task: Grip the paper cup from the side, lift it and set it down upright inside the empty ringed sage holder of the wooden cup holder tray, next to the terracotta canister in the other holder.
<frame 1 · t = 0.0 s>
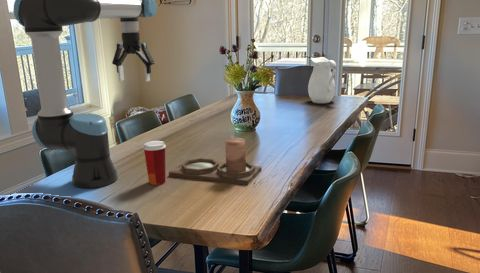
hand: (134, 80, 199), 28 cm above the table, tool pointing down, fingers open, 13 cm apart
wooden cup holder tray: (215, 173, 162), on the table
pitcher: (323, 103, 282), on the table
paper cup: (157, 182, 155), on the table
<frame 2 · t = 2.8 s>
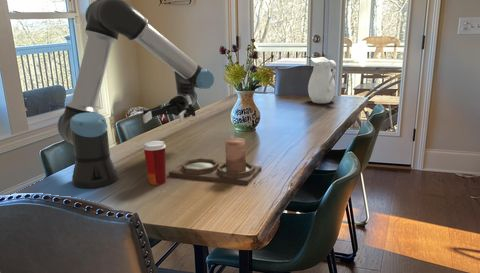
hand: (161, 119, 160), 20 cm above the table, tool horizontal, fingers open, 13 cm apart
nothing on the table moved.
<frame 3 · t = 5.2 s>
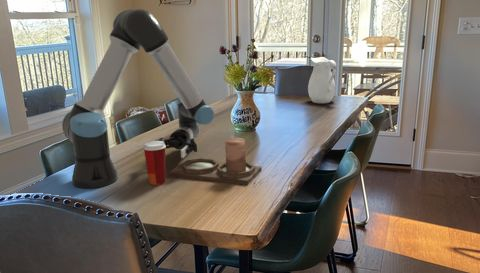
hand: (163, 153, 158), 8 cm above the table, tool horizontal, fingers open, 13 cm apart
nothing on the table moved.
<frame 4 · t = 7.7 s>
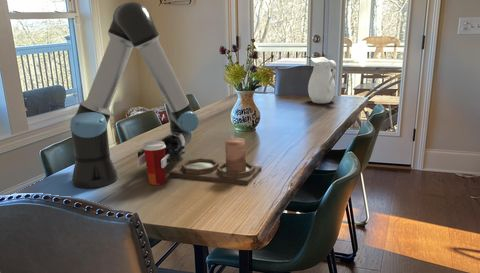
hand: (150, 163, 148), 8 cm above the table, tool horizontal, fingers closed on paper cup, 8 cm apart
paper cup: (157, 182, 155), on the table, touching gripper
everything else where it was.
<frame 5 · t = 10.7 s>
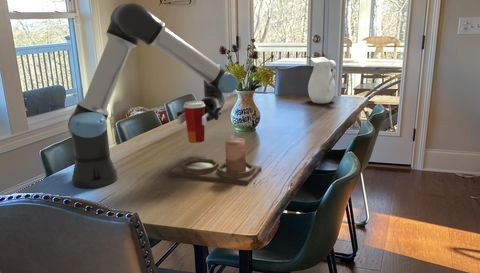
hand: (191, 121, 153), 20 cm above the table, tool horizontal, fingers closed on paper cup, 8 cm apart
paper cup: (196, 141, 160), point 12 cm above the table, touching gripper
everything else where it was.
when the fingers open (11 cm above the table, at t = 14.2 s): paper cup stays where it is, resting on wooden cup holder tray.
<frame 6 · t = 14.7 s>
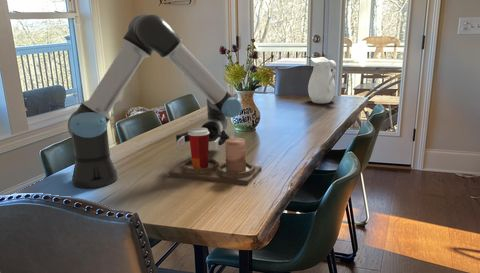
hand: (196, 145, 158), 11 cm above the table, tool horizontal, fingers open, 13 cm apart
paper cup: (200, 167, 163), point 2 cm above the table, touching wooden cup holder tray
everything else where it was.
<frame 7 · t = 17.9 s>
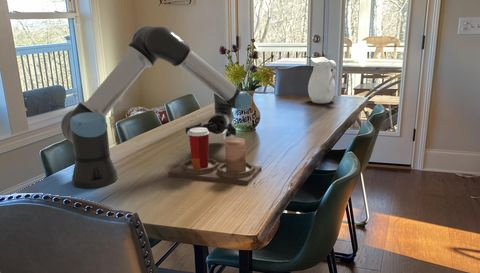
hand: (205, 136, 168), 11 cm above the table, tool horizontal, fingers open, 13 cm apart
nothing on the table moved.
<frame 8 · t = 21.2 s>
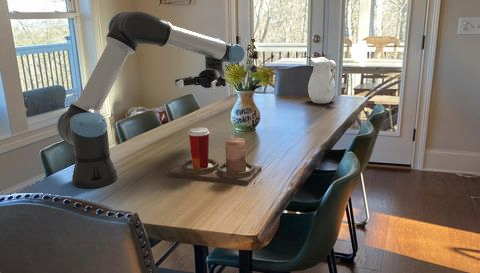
hand: (194, 85, 166), 30 cm above the table, tool horizontal, fingers open, 13 cm apart
nothing on the table moved.
at the end: paper cup 0.0 cm from the target spot on the wooden cup holder tray, point 1.7 cm above the wooden cup holder tray's base; paper cup tilted 0°; the gripper is holding nothing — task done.
